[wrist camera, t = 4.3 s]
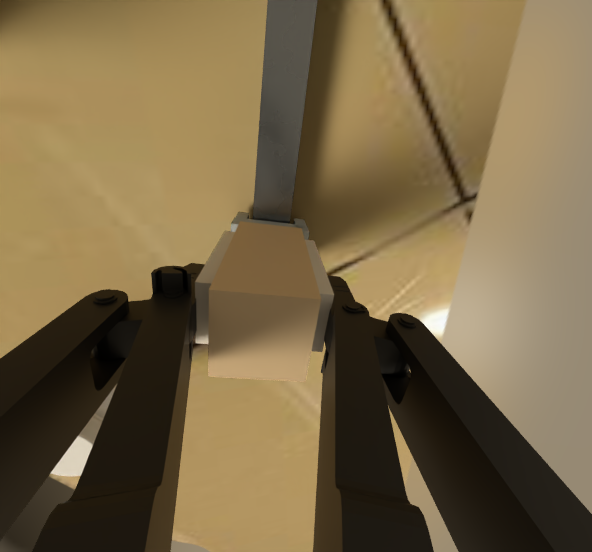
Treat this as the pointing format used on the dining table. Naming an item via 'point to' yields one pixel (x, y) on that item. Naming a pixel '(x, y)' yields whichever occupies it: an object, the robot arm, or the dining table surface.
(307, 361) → the carriage
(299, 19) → the rail
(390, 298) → the dining table surface
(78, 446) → the pill bottle
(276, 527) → the dining table surface
